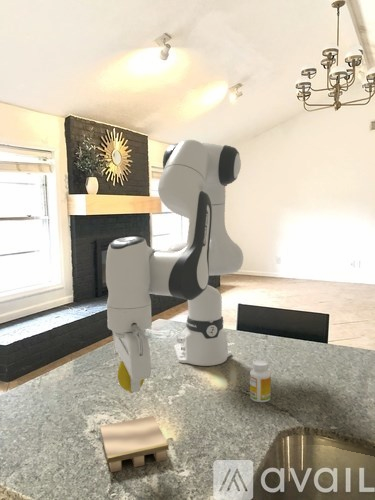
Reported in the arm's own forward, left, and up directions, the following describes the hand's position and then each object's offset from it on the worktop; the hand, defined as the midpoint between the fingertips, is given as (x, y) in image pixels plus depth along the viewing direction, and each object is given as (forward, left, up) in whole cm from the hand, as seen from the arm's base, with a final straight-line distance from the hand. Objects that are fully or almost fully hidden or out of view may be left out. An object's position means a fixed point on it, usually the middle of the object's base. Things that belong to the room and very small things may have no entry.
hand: (131, 383), depth 81 cm
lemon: (0, 0, -2) cm, 2 cm away
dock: (0, 0, -14) cm, 14 cm away
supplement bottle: (-10, +36, -15) cm, 40 cm away
